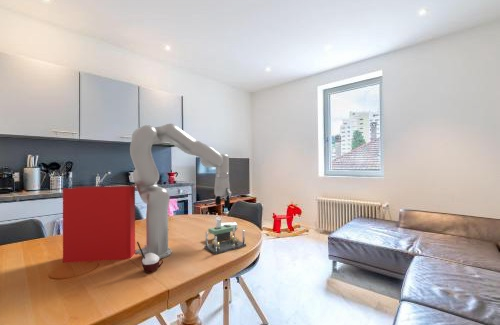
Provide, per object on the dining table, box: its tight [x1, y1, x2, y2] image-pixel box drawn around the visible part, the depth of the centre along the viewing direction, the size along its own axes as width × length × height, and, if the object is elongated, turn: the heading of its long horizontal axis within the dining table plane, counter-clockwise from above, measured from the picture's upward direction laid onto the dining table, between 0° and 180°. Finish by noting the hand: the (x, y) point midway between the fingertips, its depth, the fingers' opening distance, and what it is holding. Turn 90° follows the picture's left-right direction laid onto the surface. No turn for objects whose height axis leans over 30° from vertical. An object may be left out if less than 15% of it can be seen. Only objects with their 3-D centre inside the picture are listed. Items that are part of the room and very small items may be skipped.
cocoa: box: [136, 241, 164, 274], centre depth 92 cm, size 10×6×12 cm, turn 101°
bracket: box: [215, 216, 238, 230], centre depth 149 cm, size 13×7×8 cm, turn 103°
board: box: [207, 224, 237, 236], centre depth 131 cm, size 14×7×3 cm, turn 128°
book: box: [62, 185, 136, 263], centre depth 105 cm, size 27×8×32 cm, turn 97°
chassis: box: [203, 226, 247, 255], centre depth 117 cm, size 18×11×8 cm, turn 128°
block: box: [214, 232, 231, 242], centre depth 131 cm, size 8×4×4 cm, turn 128°
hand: (222, 206), depth 131 cm, fingers open, 9 cm apart
